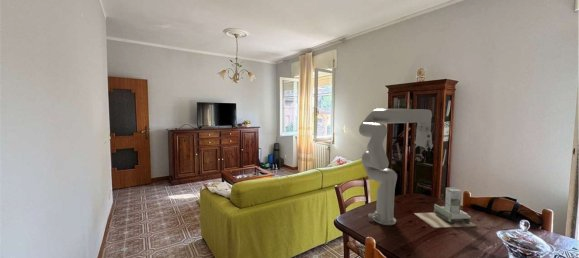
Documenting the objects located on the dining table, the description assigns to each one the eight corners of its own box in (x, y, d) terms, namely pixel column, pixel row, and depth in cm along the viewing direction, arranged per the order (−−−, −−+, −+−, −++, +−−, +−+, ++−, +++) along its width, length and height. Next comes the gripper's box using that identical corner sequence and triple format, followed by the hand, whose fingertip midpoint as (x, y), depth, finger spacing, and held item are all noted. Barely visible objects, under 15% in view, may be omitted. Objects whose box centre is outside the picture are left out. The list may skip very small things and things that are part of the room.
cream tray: (433, 228, 133) (433, 227, 133) (414, 213, 151) (414, 213, 151) (476, 226, 135) (476, 225, 135) (452, 212, 153) (452, 211, 153)
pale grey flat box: (449, 224, 136) (450, 213, 136) (433, 213, 150) (434, 203, 149) (470, 223, 137) (471, 212, 137) (452, 213, 151) (453, 203, 150)
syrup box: (453, 210, 146) (455, 187, 144) (460, 214, 140) (461, 190, 139) (444, 210, 146) (445, 187, 145) (449, 214, 140) (451, 190, 139)
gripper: (438, 130, 144) (437, 158, 145) (420, 128, 161) (419, 153, 162) (427, 130, 143) (425, 158, 144) (410, 128, 160) (408, 153, 162)
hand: (422, 155), depth 153 cm, fingers open, 9 cm apart
